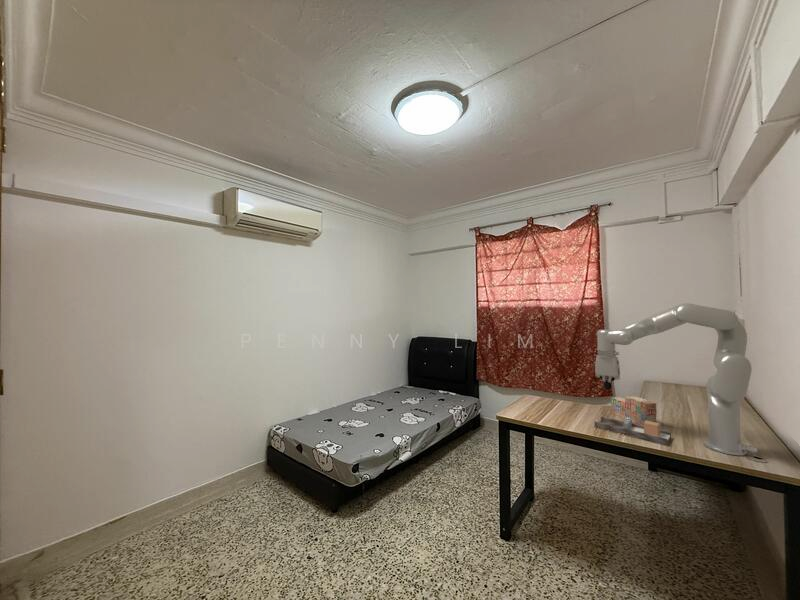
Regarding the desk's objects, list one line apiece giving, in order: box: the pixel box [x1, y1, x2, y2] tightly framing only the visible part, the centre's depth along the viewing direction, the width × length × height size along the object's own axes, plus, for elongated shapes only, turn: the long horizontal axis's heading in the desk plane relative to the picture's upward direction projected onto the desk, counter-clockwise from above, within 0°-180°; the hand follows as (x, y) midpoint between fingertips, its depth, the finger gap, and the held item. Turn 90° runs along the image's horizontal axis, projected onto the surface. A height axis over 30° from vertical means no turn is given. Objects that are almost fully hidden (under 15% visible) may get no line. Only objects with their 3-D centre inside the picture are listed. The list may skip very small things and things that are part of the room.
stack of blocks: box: [610, 395, 658, 426], centre depth 168 cm, size 21×6×12 cm, turn 11°
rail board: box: [594, 416, 672, 447], centre depth 150 cm, size 28×12×3 cm, turn 42°
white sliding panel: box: [623, 419, 670, 442], centre depth 146 cm, size 16×9×4 cm, turn 42°
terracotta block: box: [644, 420, 661, 436], centre depth 144 cm, size 5×5×5 cm
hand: (607, 389), depth 158 cm, fingers closed
